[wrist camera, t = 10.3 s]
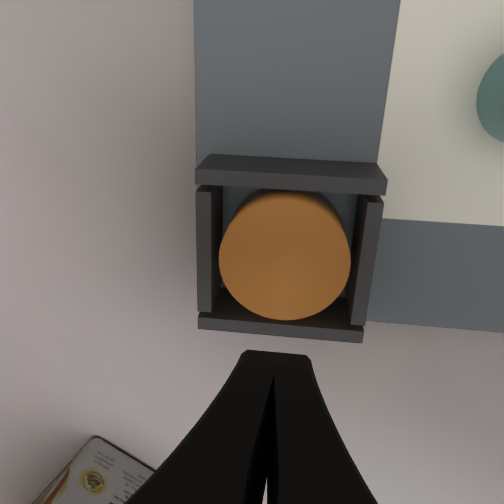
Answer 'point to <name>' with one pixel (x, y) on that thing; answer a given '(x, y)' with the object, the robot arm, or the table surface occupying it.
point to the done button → (285, 254)
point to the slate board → (356, 152)
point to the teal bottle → (492, 99)
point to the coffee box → (96, 477)
